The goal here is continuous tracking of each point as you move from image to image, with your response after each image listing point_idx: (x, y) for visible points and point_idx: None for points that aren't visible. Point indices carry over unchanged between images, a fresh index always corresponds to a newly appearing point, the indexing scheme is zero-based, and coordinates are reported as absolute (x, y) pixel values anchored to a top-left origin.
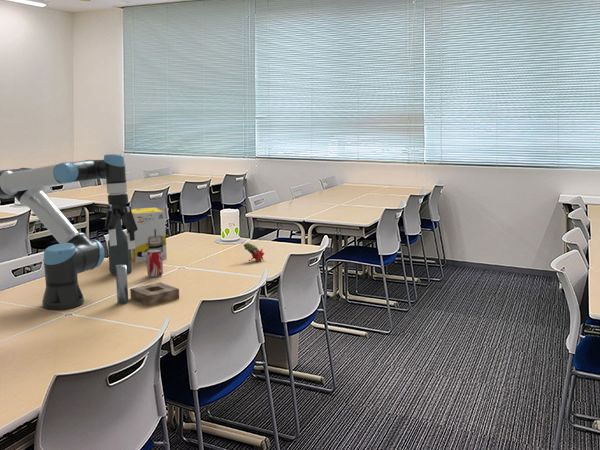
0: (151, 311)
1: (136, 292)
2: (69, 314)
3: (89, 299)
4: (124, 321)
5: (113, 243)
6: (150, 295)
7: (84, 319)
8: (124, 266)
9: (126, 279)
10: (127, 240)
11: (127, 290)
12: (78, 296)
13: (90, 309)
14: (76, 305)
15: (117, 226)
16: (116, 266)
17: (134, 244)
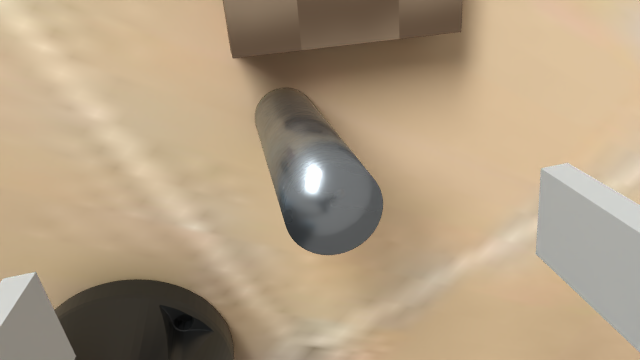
0: (523, 55)
1: (316, 47)
2: (310, 355)
3: (114, 246)
4: None
5: (46, 345)
6: (460, 12)
7: (412, 320)
8: (380, 193)
9: (341, 139)
10: (627, 339)
11: (319, 112)
12: (172, 329)
13: (297, 276)
14: (225, 325)
15: None
16: (338, 250)
17: (607, 197)
